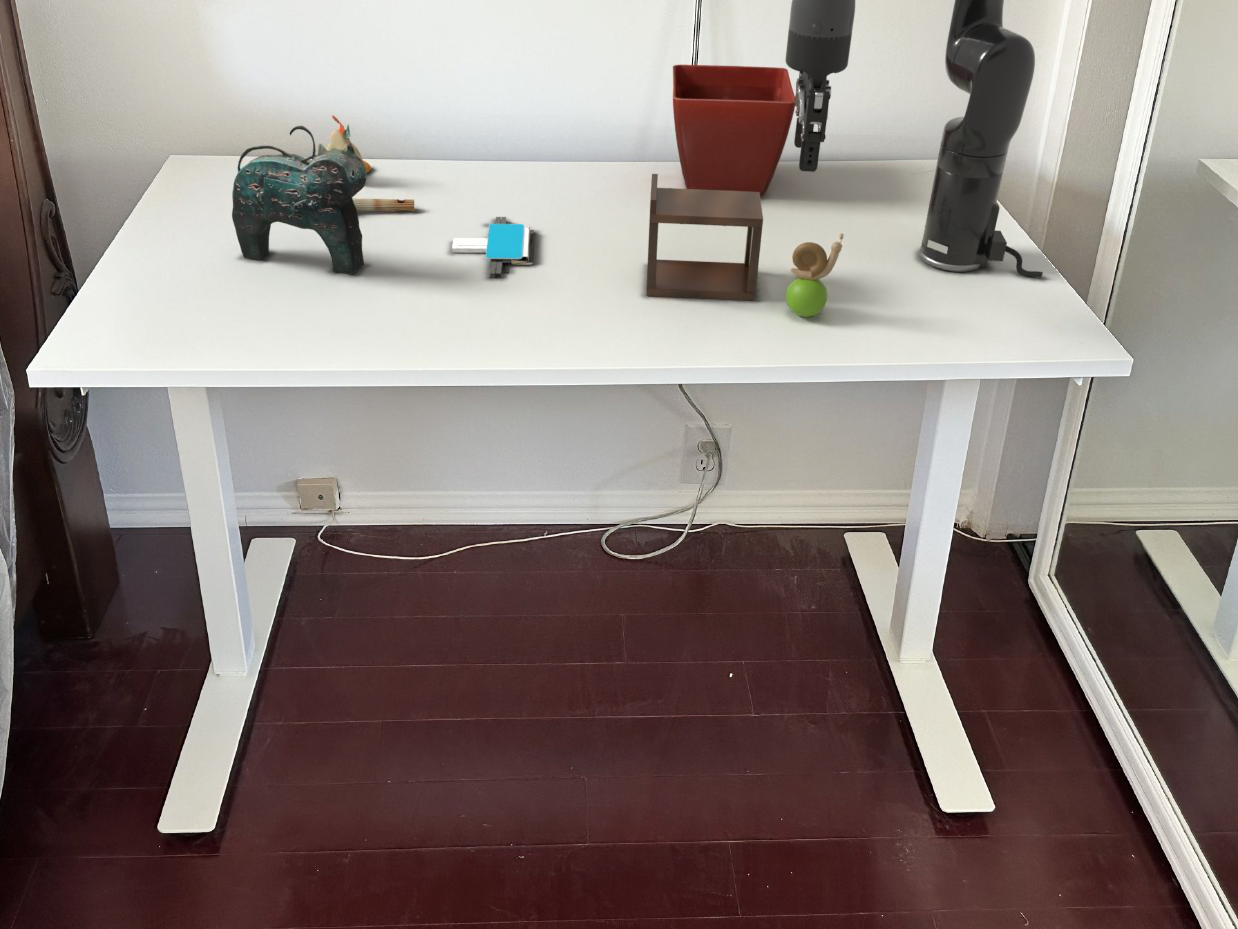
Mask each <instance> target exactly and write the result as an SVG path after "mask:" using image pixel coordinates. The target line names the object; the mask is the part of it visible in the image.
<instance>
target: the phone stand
mask: <svg viewBox="0 0 1238 929" xmlns="http://www.w3.org/2000/svg"><path fill="white" fill-rule="evenodd" d="M534 252H535V229H533V228H531V226H530V225H528V226H525V225H524V224H523V223H507V216H495V222H494V223H490V224H489V225H488V233H487V237H486V238H485V237H483V238H482V237H480V238H479V237H474V238H473V237H454V238H453V240H452V245H451V253H469V254H470V253H471V254H472V253H475V254H476V253H477V254H478V253H480V254H484V253H485V259H486V260H490V266H489V267H490V268H489V269H490V270H489V278H501V277H502V274H509V272H510V266H534V254H535V253H534Z"/></svg>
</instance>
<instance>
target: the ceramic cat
mask: <svg viewBox="0 0 1238 929" xmlns="http://www.w3.org/2000/svg"><path fill="white" fill-rule="evenodd" d="M298 130H301V131H304V132H306V133H307V134H308V135H309V136H310V138H311V141H312V154H311V156H308V157H304V156H301V155H298V154H295V153H289V152H286V151H285V150H283V149H281V148H278V147H276V146H273V145H255V146H251V147H248V148H246V149H245V150H244V151H243V152H242V154H241V155H240V157H239V159H238V162H237V174H236V176H235V178H234V181H233V184H232V185H233V186H232V192H231V193H232V194H231V197H232V211H231V218H232V222H233V226H234V229H235V233H236V238H237V241H238V244H239V247H240V251H241V254H242V256H243V258H244V259H249V260H254V261H263V260H265V258H266V257H268V256H269V255H270V232H271V227H272V224H274V223H283V224H286V225H289V226H291V227H295V228H298V229H302V230H311V231H314V232H315V233H317V235H318V236H319V237H320V238H321V240H322V242H323V243H324V245H325V246H326V249H328V252H329V256H330V260H331V269H332V272H333V273H345V274H350V275H355V274H356V273H357V272H358V271H360V269H361V268H362V267H363V266H365V261H364V252H363V235H362V234H363V232H362V231H361V227H360V220H359V211H358V210H357V209H356V206H355V204H354V202H353V199H352V198H354V197H355V196H356V195H357V194H358V193H359V192H360V191H362V189H363V188H364V187H365V186H366V184H367V180H368V179H367V178H368V177H367V173H366V167H365V165H364V163H363V161H364V160H363V159H362V160H363V161H362V160H361V159H360V158H359V157H358V156H357V155H356V153H355V151H354V148H353V146H352V145H351V143H352V142H351V143H349V144H348V145H347V146H346V147H345V148H344V149H343V150H333V151H327V150H326V149H327V148H326V147H325V146H324V144H321V143H319V144H318V148H317V149H318V150H316V143H315V139H314V135H313V133H312V132H311V130H309V128H307V127H305V126H304V125H296V126H294V127H293V128H292V129H291V130H290V131H289V135H290V136H292V134H293V133H294V132H295V131H298ZM265 149H266V150H273V151H277V152H279V154H263V155H260V156H258V157H254V158H253V159H251V160H249V162H248V163H247V164H245V165H244V166H242V167H241V164H242V161H243V160H244V158H245V157H246V156H247V155H248V154H249V153H251V152H252V151H257V150H265ZM316 152H317V155H316Z"/></svg>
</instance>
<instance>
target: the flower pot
mask: <svg viewBox="0 0 1238 929" xmlns="http://www.w3.org/2000/svg"><path fill="white" fill-rule="evenodd" d="M789 73H790V72H789V70H788V69H787V68H785V67H775V66H773V67H772V66H751V65H750V66H746V65H745V66H744V65H719V64H717V65H709V64H674V65H672V108H673V109H672V112H673V121H674V122H673V123H674V132H675V140H676V146H677V153H678V158H679V163H680V168H681V173H682V177H683V182H684V185H685V189H700V190H724V191H748V192H759V193H760V197H764V196H765V195H766V193H767V190H768V188H769V187H770V185H771V182H772V180H773V178H774V175H775V172H776V170H777V168H778V166H779V163H780V161H781V157H782V154H783V151H784V149H785V146H786V141H787V139H788V135H789V132H790V129H791V126H792V125H791V124H792V121H793V117H794V114H795V110H796V106H795V95H796V94H795V92H794V88H793V85H792V82H791V78H790V74H789Z"/></svg>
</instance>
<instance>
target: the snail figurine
mask: <svg viewBox="0 0 1238 929" xmlns="http://www.w3.org/2000/svg"><path fill="white" fill-rule="evenodd" d="M838 238H839V240H840V242H839V241H834V242H833V243H832V244H831V245H830V253H829V256H828V255H827V252H826V251H825V249H824V248H823V246H821V245H820V244H818V243H816V242H812V241H806V242H803V243H800V244H799V245H798V246H797V247H795V249H794V250H793V253H792V257H791V259H792V264H793V265H794V266H795V268H794V267H791V268H790V271H791V272H792V274H793V275H794V276H795V277H796V279H794V280H792V282H791V283H790V284H789V286H788V287H787V290H786V295H785V298H786V299H785V300H786V303H787V306H788V308H789V310H791V312H792V313H794V314H795V315H797V316H799V317H803V318H808V317H813V316H816V315H818V314H819V313H820V312H821V311H822V310H824V308H825V306H826V304H827V301H828V290H827V288H826V286H825V284H824V282H822V281H821V279H823V278H825V277H827V276H828V275H829V274H831V272H832V271H833V269H834V268H835V265H836V264H837V261H838V258H839V256H840V252H841V251H842V248H843V244H842V240H843V239H844V233H839V237H838Z"/></svg>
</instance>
